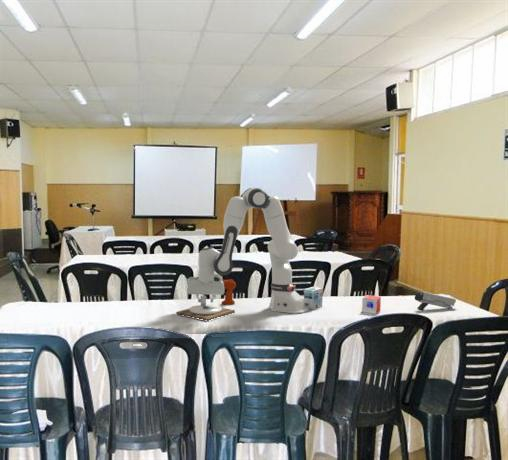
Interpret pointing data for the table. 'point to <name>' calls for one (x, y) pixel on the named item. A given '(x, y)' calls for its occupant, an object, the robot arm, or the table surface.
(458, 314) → the table surface
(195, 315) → the cardboard mat
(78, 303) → the table surface
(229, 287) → the toy drill
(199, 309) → the dial
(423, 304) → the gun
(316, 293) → the light bulb box
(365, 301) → the puzzle cube
